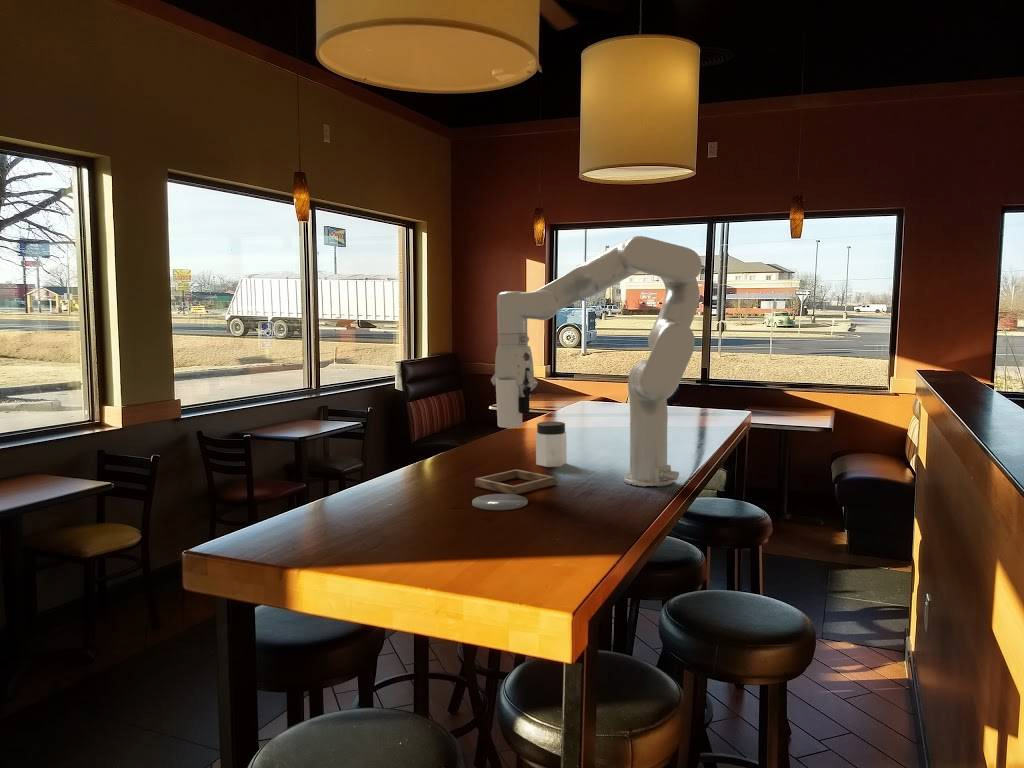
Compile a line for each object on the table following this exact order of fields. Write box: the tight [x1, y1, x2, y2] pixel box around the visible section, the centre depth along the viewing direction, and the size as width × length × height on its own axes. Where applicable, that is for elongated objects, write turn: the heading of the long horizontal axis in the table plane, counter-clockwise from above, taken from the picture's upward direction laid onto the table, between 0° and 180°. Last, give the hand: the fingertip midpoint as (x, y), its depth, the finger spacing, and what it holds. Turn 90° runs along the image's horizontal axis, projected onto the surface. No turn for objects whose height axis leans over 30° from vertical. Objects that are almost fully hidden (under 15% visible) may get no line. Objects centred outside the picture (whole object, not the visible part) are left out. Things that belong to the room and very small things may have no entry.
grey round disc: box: [471, 493, 529, 511], centre depth 179 cm, size 13×13×1 cm
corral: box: [474, 468, 556, 495], centre depth 197 cm, size 14×15×2 cm
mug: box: [495, 378, 523, 429], centre depth 194 cm, size 10×7×12 cm, turn 149°
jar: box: [535, 420, 568, 468], centre depth 222 cm, size 9×8×12 cm
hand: (514, 410), depth 194 cm, fingers closed on mug, 6 cm apart
